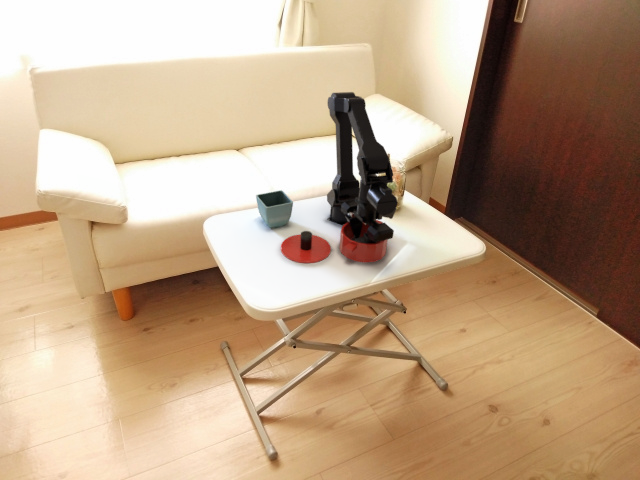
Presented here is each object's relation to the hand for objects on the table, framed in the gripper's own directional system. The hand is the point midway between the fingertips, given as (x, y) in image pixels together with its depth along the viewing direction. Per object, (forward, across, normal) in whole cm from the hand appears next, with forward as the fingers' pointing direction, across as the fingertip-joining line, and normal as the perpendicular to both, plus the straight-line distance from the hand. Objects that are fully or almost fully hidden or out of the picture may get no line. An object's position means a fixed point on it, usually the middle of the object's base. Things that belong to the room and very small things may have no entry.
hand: (362, 245), depth 130 cm
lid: (+1, +6, +15) cm, 16 cm away
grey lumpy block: (+2, 0, 0) cm, 2 cm away
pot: (+2, 0, 0) cm, 2 cm away
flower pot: (+2, +23, +18) cm, 29 cm away
